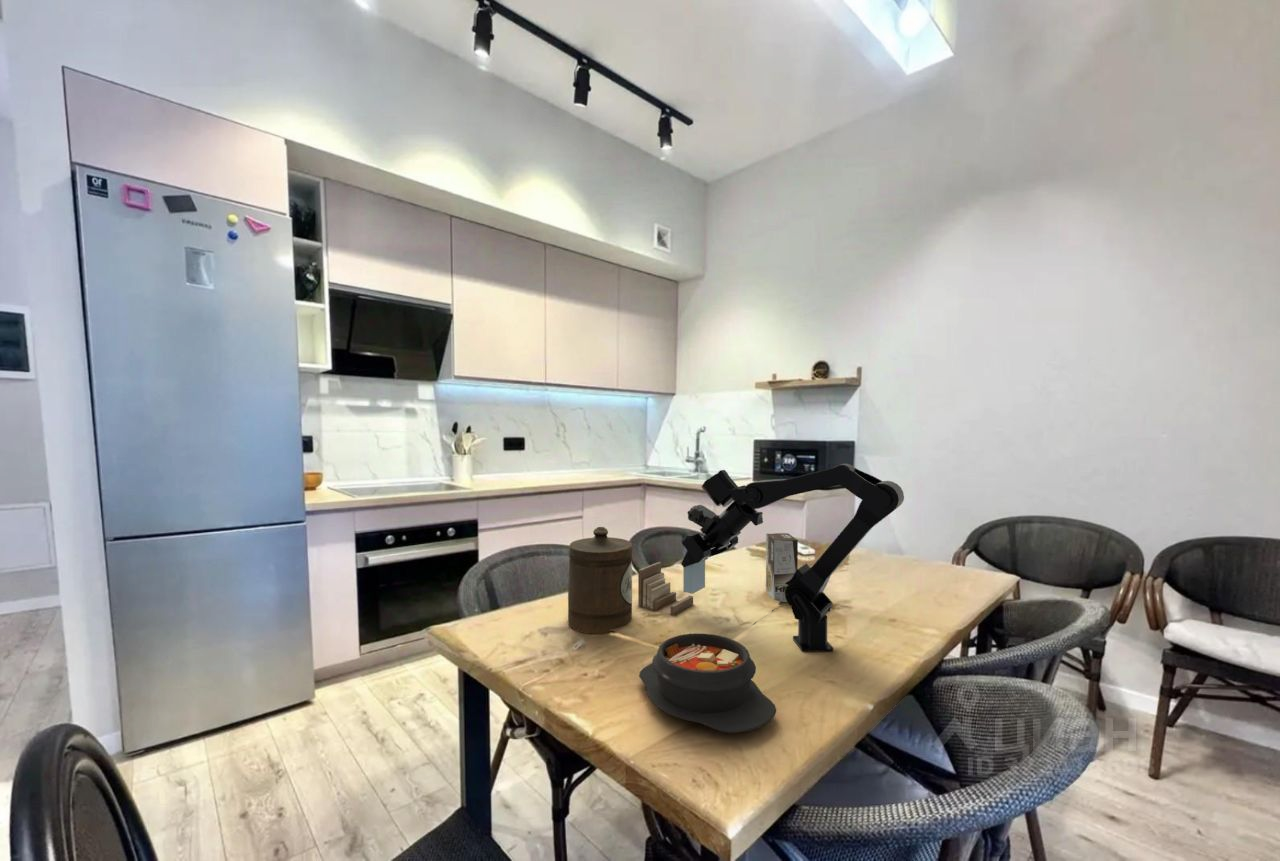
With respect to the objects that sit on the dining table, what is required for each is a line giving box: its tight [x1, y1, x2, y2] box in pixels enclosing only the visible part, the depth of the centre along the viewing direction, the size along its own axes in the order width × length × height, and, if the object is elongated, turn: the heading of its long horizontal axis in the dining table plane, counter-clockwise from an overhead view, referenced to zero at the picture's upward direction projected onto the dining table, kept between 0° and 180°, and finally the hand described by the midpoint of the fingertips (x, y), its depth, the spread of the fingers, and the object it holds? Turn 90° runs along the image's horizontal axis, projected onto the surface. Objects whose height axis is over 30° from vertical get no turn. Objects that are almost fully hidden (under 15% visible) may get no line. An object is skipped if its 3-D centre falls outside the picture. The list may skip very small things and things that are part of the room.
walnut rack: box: [637, 561, 695, 617], centre depth 126 cm, size 11×9×10 cm
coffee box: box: [765, 532, 799, 603], centre depth 135 cm, size 9×6×16 cm
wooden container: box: [567, 526, 633, 635], centre depth 118 cm, size 15×15×22 cm
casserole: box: [638, 632, 777, 734], centre depth 84 cm, size 25×19×8 cm
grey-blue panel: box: [682, 544, 706, 595], centre depth 121 cm, size 2×6×12 cm, turn 144°
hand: (689, 562), depth 122 cm, fingers closed on grey-blue panel, 6 cm apart
